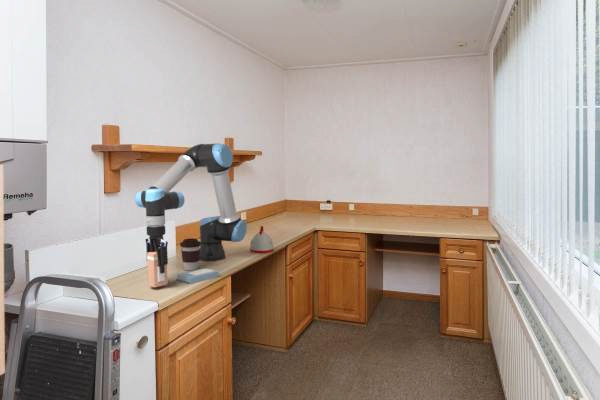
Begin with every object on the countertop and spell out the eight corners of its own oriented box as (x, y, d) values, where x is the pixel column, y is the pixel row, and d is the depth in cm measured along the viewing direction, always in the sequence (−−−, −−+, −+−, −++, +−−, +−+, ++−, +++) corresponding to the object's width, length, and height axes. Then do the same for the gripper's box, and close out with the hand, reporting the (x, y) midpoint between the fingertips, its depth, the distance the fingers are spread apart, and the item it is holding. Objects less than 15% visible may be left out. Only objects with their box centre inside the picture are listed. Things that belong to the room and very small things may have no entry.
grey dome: (275, 249, 273) (274, 224, 272) (271, 253, 259) (271, 228, 258) (252, 248, 274) (252, 224, 273) (247, 253, 261) (247, 227, 259)
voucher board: (205, 272, 215) (205, 267, 215) (219, 276, 209) (218, 270, 208) (175, 280, 203) (175, 274, 202) (188, 284, 196) (188, 278, 196)
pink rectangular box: (160, 282, 194) (159, 250, 193) (167, 284, 191) (166, 252, 189) (148, 285, 189) (147, 252, 188) (154, 287, 186) (153, 254, 185)
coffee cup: (191, 265, 230) (191, 237, 229) (205, 268, 224) (204, 239, 223) (176, 269, 222) (175, 240, 220) (190, 272, 216) (189, 242, 215)
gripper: (136, 224, 191) (138, 277, 193) (159, 228, 179) (161, 285, 181) (152, 222, 196) (154, 274, 199) (175, 226, 185) (177, 281, 187)
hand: (157, 279), depth 190 cm, fingers closed on pink rectangular box, 5 cm apart
